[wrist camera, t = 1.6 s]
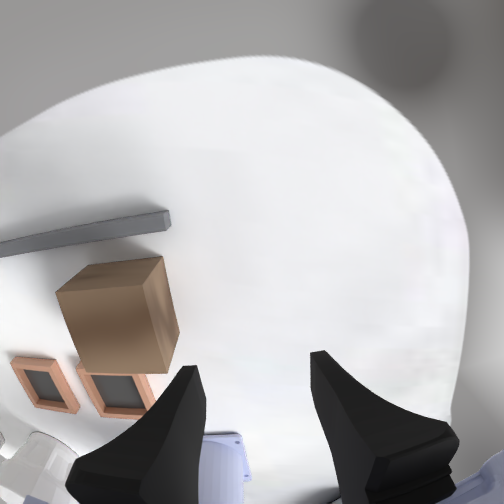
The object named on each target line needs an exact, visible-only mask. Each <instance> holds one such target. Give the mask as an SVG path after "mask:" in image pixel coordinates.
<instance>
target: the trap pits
mask: <svg viewBox="0 0 504 504" xmlns="http://www.w3.org/2000/svg"><path fill="white" fill-rule="evenodd" d="M10 364H11V366H12V368H13V370H14V372H15V374H16V376H17V377H18V379H19V381H20V383H21V385H22V386H23V388H24V390H25V392H26V393H27V395H28V397H29V398H30V400H31V402H32V403H33V405H34V406H35V407H36V408H41V409H47V410H52V411H58V412H65V413H72V414H77V412H78V410H79V408H80V405H79V403H78V402H77V400H76V398H75V396H74V394H73V392H72V391H71V389H70V387H69V385H68V383H67V381H66V379H65V377H64V375H63V373H62V371H61V369H60V367H59V365H58V363H57V361H56V360H52V359H38V358H25V357H15V358H14V359H13V360H12V361H11V362H10ZM76 371H77V373H78V375H79V377H80V379H81V381H82V383H83V385H84V387H85V389H86V391H87V393H88V395H89V397H90V398H91V400H92V402H93V404H94V406H95V408H96V409H97V411H98V413H99V415H100V417H107V418H120V419H137V420H139V419H140V418H141V417H142V416H143V415H144V414H145V413H146V412H147V411H148V410H149V409H150V408H151V406H152V405H153V404H154V403H155V402H156V400H155V398H154V395H153V393H152V391H151V388H150V386H149V383H148V380H147V378H146V375H145V374H115V373H88V372H86V370H85V368H84V366H83V364H82V362H81V361H80V363H79V364H78V366H77V367H76Z"/></svg>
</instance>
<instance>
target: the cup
mask: <svg viewBox="0 0 504 504" xmlns="http://www.w3.org/2000/svg"><path fill="white" fill-rule="evenodd" d="M77 458H79V456H78V455H77V454H76V453H75V452H74V451H72V450H71V449H70V448H69V447H68V446H66V445H65V444H63V443H62V442H60V441H59V440H57V439H55V438H53V437H51V436H49V435H46V434H43V433H40V432H34V433H32V434H31V435H30V436H29V438H28V440H27V441H26V443H25V444H24V445H23V446H22V447H21V448H20V449H19V450H18V451H17V452H16V453H15V455H14V456H13V457H12V458H11V459H7V460H3V461H2V462H1V464H0V498H1V499H3V500H4V501H5V502H6V503H8V504H23V502H24V500H25V498H26V495H30V496H32V497H35V498H37V499H40V500H43V501H45V502H47V503H49V504H79V502H78V501H76V500H75V499H74V498H73V497H72V496H71V495H70V494H69V492H68V491H67V489H66V487H65V483H66V480H67V478H68V475H69V472H70V470H71V468H72V465H73V463H74V461H75V459H77Z"/></svg>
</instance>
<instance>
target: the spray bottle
mask: <svg viewBox="0 0 504 504" xmlns="http://www.w3.org/2000/svg"><path fill="white" fill-rule="evenodd" d="M3 444H4V437H3V436H2V434H1V433H0V449H1V447H2V446H3Z"/></svg>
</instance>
